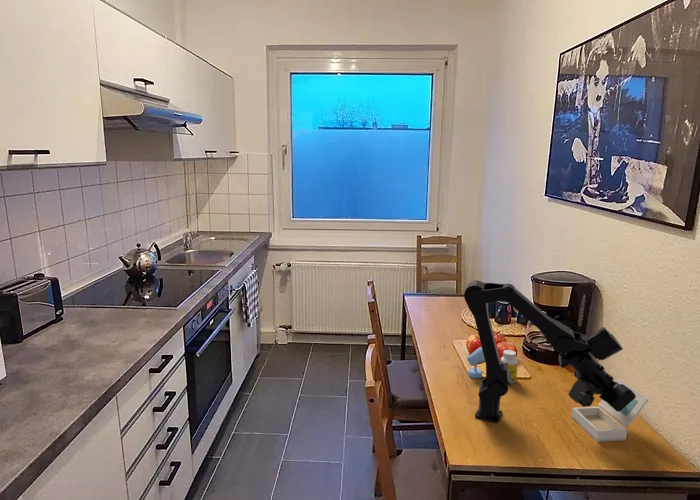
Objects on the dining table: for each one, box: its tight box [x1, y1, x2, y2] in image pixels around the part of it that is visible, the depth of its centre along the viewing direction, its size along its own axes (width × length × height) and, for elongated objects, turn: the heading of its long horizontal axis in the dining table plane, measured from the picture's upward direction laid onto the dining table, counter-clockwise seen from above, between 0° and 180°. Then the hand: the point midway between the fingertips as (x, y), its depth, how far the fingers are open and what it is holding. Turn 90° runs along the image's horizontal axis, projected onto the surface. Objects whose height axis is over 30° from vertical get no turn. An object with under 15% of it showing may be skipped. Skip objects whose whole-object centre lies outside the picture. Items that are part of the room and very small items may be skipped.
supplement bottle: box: [500, 349, 519, 384], centre depth 157 cm, size 5×5×10 cm
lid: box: [598, 378, 650, 429], centre depth 129 cm, size 9×12×1 cm
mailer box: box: [571, 405, 628, 443], centre depth 129 cm, size 8×12×3 cm, turn 5°
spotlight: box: [466, 346, 485, 379], centre depth 160 cm, size 5×10×7 cm
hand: (620, 404), depth 128 cm, fingers closed, pressing on lid
